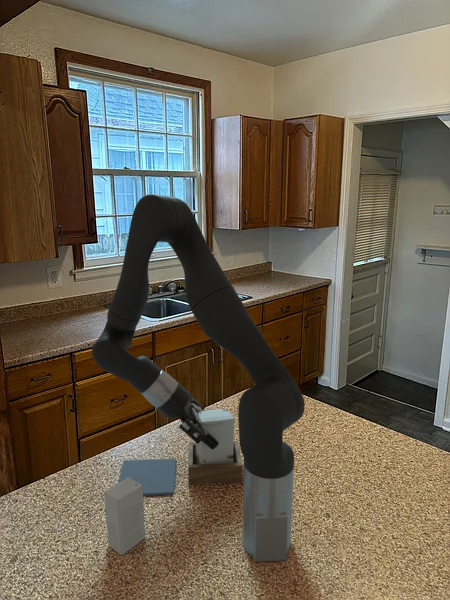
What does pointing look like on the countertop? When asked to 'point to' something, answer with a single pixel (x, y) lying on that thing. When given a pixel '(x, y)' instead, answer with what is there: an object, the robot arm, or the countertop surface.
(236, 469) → the holder collar
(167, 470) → the slate mat
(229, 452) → the skincare box
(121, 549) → the skincare box
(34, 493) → the countertop surface
